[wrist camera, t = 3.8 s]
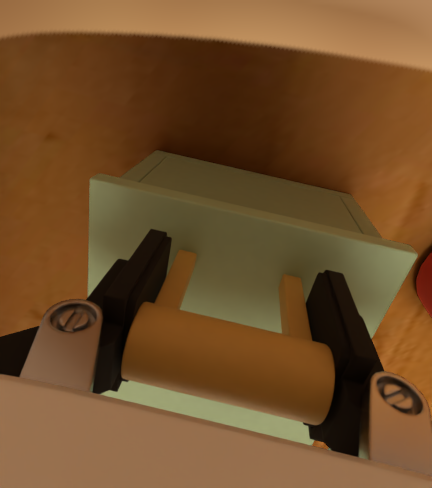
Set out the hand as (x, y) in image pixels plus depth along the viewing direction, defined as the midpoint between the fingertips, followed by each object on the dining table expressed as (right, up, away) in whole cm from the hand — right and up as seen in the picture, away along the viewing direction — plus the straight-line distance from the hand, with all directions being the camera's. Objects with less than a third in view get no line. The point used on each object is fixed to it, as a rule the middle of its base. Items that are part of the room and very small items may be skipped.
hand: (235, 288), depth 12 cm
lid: (-1, -3, +4) cm, 5 cm away
